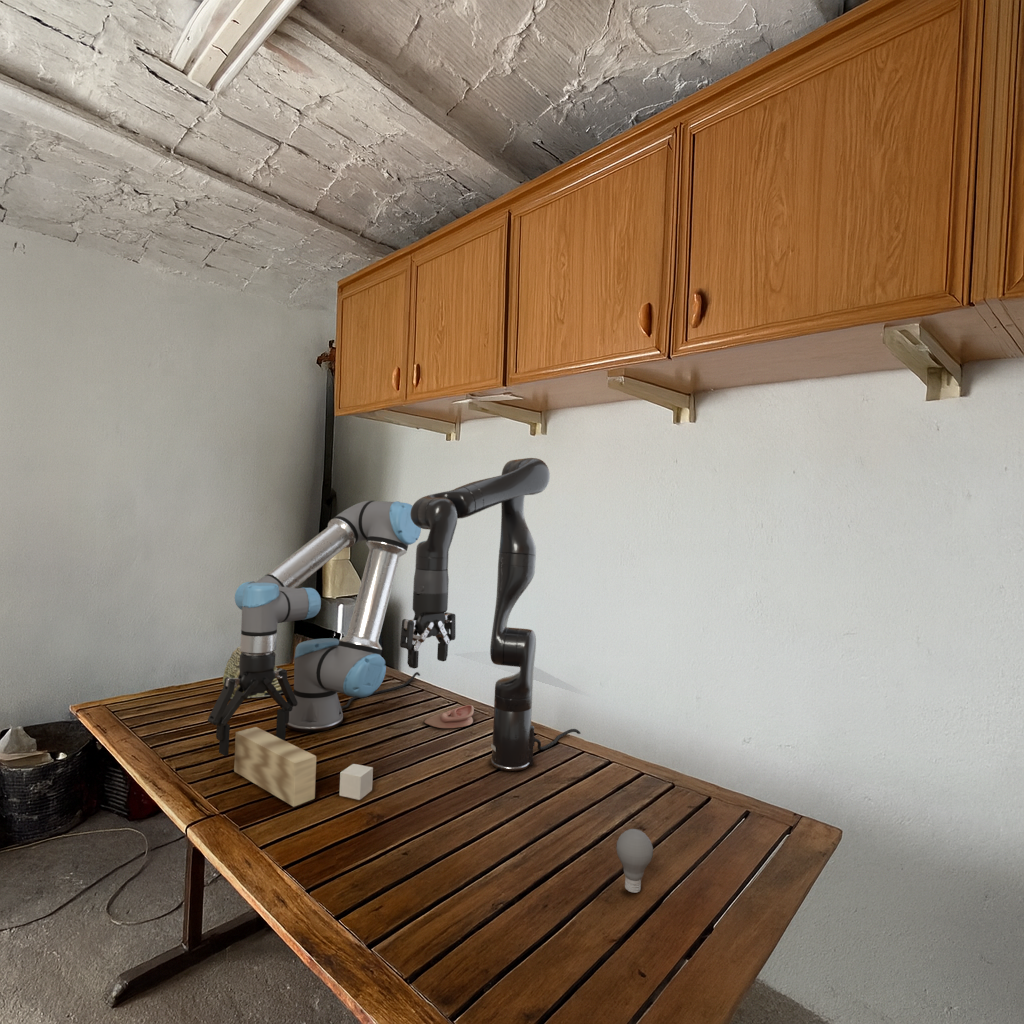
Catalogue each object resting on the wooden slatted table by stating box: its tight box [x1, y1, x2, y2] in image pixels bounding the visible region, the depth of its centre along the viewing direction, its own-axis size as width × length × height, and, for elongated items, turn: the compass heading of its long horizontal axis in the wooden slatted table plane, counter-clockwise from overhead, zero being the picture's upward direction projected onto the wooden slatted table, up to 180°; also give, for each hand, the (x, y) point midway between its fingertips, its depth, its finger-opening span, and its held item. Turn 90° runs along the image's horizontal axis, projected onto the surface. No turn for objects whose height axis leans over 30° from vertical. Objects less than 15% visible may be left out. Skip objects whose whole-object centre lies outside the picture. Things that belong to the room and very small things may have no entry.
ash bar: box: [233, 726, 317, 808], centre depth 138 cm, size 24×5×9 cm, turn 51°
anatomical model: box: [424, 704, 475, 729], centre depth 181 cm, size 13×4×12 cm
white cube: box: [338, 763, 374, 801], centre depth 136 cm, size 5×5×5 cm
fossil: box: [222, 646, 283, 699], centre depth 198 cm, size 9×18×15 cm, turn 132°
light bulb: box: [615, 828, 654, 894], centre depth 106 cm, size 6×6×10 cm
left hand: (253, 746), depth 143 cm, fingers open, 13 cm apart
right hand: (427, 664), depth 137 cm, fingers open, 8 cm apart
